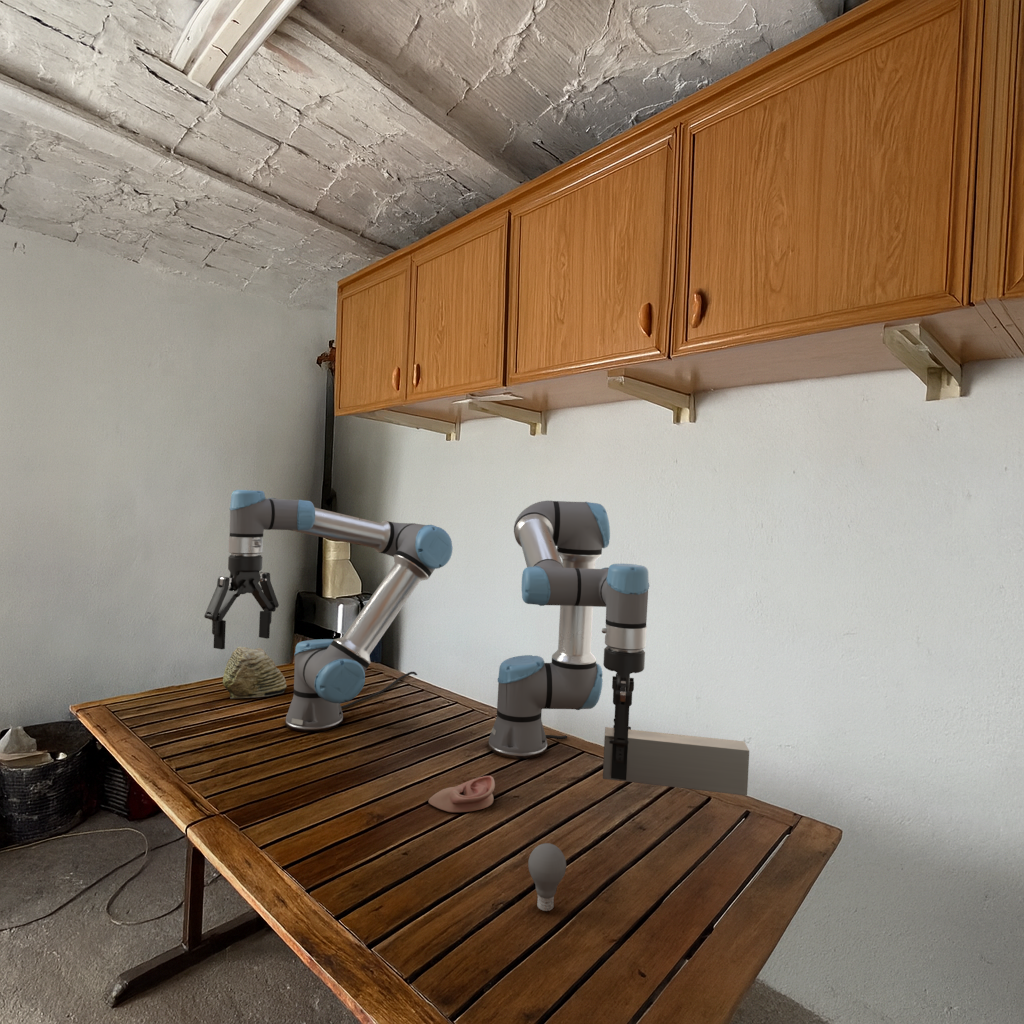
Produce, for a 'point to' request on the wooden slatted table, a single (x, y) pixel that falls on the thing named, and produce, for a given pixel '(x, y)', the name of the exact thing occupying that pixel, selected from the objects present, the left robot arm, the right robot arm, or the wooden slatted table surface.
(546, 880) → the light bulb
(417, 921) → the wooden slatted table surface
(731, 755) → the bar
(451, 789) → the anatomical model
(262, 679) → the fossil
